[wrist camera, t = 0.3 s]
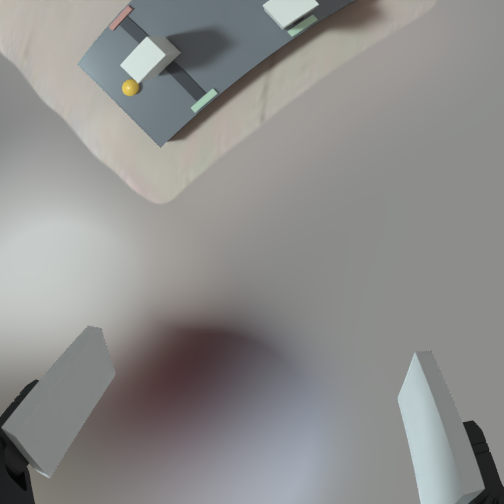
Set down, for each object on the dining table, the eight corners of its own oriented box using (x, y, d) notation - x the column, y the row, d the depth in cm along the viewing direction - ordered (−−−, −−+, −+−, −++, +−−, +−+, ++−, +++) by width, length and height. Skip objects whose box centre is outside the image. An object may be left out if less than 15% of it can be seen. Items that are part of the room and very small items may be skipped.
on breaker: (295, -10, 21) (298, -19, 17) (312, 10, 22) (318, 4, 19) (264, 10, 23) (262, 5, 19) (282, 30, 24) (283, 27, 20)
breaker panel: (267, -94, 16) (265, -102, 14) (359, -3, 22) (365, -6, 20) (86, 62, 28) (75, 64, 26) (166, 141, 33) (159, 148, 32)
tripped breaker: (164, 36, 24) (146, 36, 21) (181, 52, 25) (166, 54, 22) (139, 60, 26) (119, 65, 22) (156, 76, 27) (138, 83, 23)
